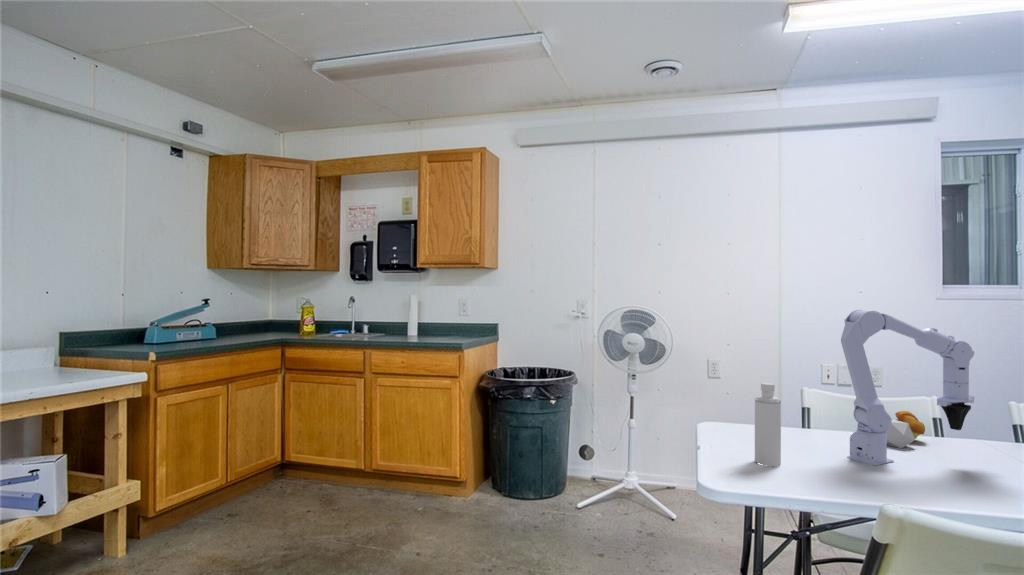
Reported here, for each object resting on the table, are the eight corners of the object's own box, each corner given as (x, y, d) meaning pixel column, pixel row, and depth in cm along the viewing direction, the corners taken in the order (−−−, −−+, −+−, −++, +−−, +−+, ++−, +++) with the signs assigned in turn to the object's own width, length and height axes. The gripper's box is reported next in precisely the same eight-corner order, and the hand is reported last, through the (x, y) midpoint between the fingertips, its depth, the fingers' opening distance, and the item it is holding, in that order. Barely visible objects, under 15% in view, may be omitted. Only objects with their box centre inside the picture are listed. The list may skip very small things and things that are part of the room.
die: (920, 451, 167) (904, 447, 177) (918, 421, 169) (903, 419, 178) (889, 448, 169) (875, 445, 179) (887, 419, 171) (874, 417, 180)
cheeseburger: (886, 427, 190) (902, 404, 187) (917, 448, 182) (935, 424, 179) (874, 429, 184) (890, 405, 181) (906, 450, 176) (924, 425, 173)
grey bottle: (783, 470, 148) (783, 380, 149) (757, 469, 150) (758, 379, 150) (776, 463, 155) (777, 376, 155) (752, 461, 156) (752, 375, 157)
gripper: (957, 385, 148) (957, 435, 148) (986, 382, 154) (986, 430, 154) (928, 381, 155) (928, 429, 155) (958, 379, 160) (958, 424, 160)
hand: (955, 429), depth 155 cm, fingers closed
